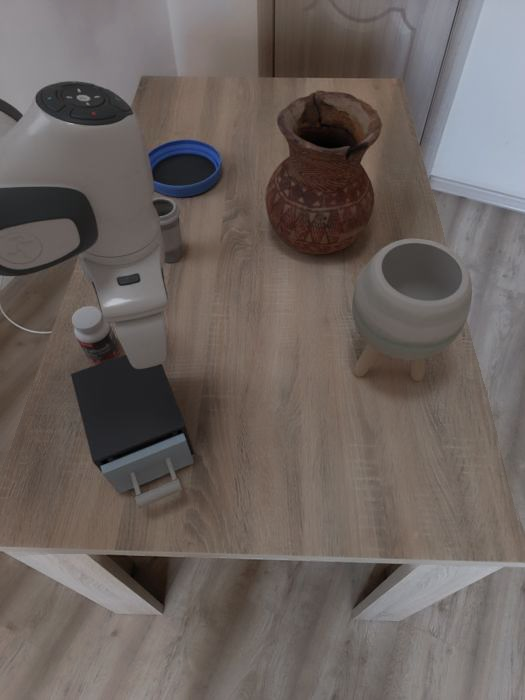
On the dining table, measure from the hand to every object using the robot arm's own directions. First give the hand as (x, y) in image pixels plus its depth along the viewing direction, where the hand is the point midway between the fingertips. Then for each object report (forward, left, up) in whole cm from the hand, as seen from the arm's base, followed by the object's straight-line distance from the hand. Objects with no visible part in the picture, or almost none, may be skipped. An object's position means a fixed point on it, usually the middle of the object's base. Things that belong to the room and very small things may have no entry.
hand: (140, 326), depth 62 cm
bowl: (+22, +55, -20) cm, 63 cm away
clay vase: (+41, +25, -20) cm, 52 cm away
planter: (+37, -9, -20) cm, 43 cm away
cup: (+11, +31, -20) cm, 39 cm away
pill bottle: (-7, +13, -20) cm, 25 cm away
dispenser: (-5, -4, -20) cm, 21 cm away
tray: (-5, -8, -19) cm, 21 cm away
